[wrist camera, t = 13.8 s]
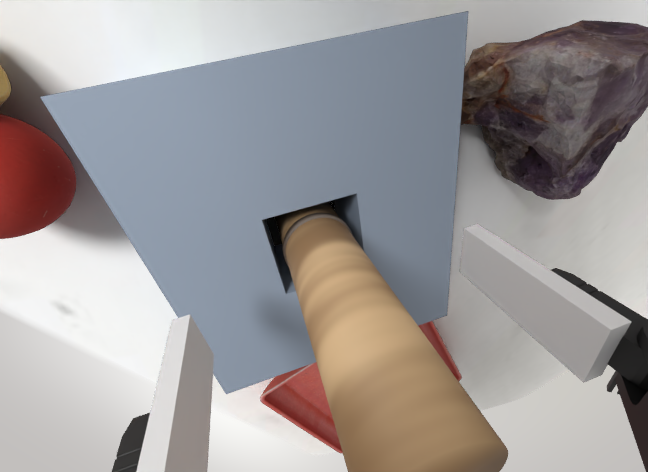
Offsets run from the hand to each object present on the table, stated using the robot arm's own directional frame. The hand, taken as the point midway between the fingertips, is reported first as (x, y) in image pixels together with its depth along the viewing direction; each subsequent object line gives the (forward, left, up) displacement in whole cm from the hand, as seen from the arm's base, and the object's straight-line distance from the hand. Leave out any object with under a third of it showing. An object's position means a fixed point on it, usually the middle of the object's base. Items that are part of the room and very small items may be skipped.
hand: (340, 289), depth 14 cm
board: (0, 0, -10) cm, 10 cm away
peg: (0, 0, -10) cm, 10 cm away
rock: (-4, +18, -10) cm, 21 cm away
